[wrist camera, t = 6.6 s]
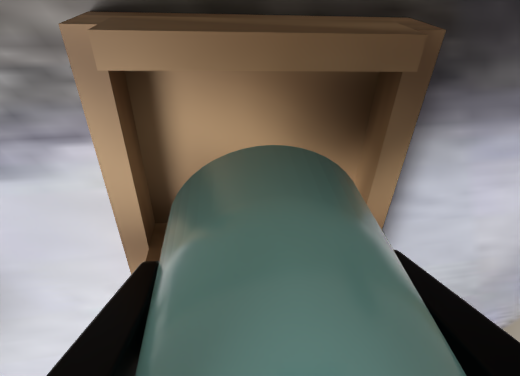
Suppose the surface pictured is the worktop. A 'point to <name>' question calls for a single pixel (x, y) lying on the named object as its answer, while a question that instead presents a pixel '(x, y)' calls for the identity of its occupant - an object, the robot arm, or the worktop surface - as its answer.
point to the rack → (243, 100)
